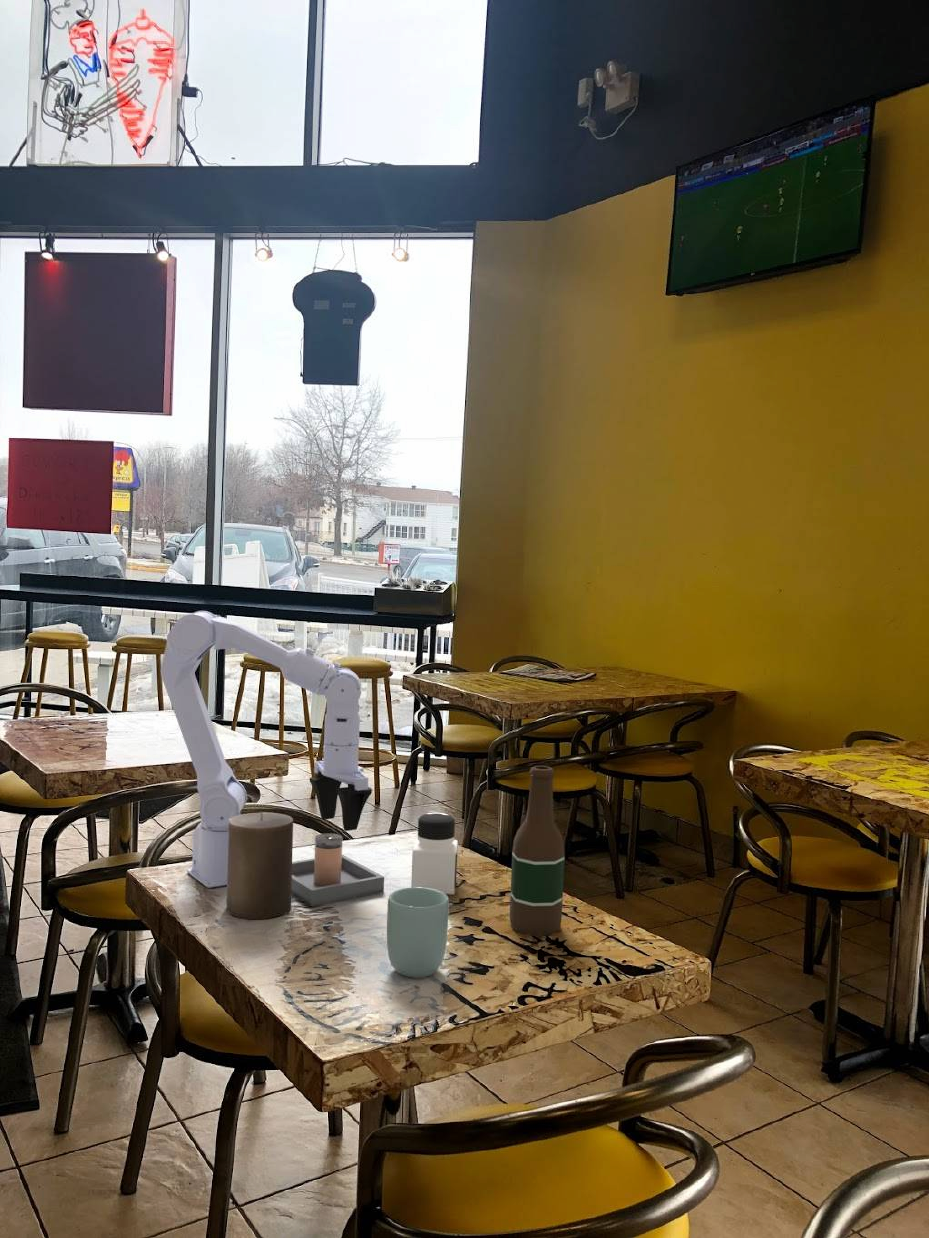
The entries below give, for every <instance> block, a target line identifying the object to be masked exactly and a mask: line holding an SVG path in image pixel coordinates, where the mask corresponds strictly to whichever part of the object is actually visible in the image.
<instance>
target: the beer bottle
mask: <svg viewBox="0 0 929 1238" xmlns="http://www.w3.org/2000/svg"><path fill="white" fill-rule="evenodd" d="M529 775H530V782H529V783H530V784H529V793H528V801H527V802H528V804H527V811H526V815H525V820H524V821H523V823H522V824H521V825H520V826H519V828H517V831H516V834H515V836H514V838H513V844H512V845H513V846H512V853H511V870H510V871H511V872H510V873H511V874H510V875H511V876H510V878H511V879H510V897H509V922H510V925H511V926H512V928H513V929H514V931H515V932H518V933H522V934H525V935H528V936H533V937H534V936H551V935H552V934H554V933H555V932H557V931H559V930H560V929H561V926H562V925H561V924H562V917H563V901H564V900H563V899H564V878H565V874H564V873H565V857H566V856H565V842H564V839H563V835H562V833H561V831H560V830H559V828H558V826H557V824H556V823H555V817H554V816H555V815H554V791H553V788H554V783H553V782H554V781H553V780H554V779H553V778H554V777H555V776H556V775H555V769H553V768H552V767H550V766H547V765H534V766H533V767H530V770H529Z"/></svg>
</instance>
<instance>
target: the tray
mask: <svg viewBox="0 0 929 1238" xmlns="http://www.w3.org/2000/svg"><path fill="white" fill-rule="evenodd" d="M384 892H385V876H383V875H381V874H380V873H378V872H376V871H374V870H372V869H370V868H368V867H366V866H365V865H363V864H361V863H359V862H357V861H356V860H353V859H352V858H350V857H348V856H346V855H345V854H342V865H341V883H339V884H334V885H329V886H323V887H321V886H317V885H315V884H314V858H309V859H303V860H298V861H297V860H296V861H292V892H291V895H293V896H295V897H296V898H297V899H299V900H301V901H302V902H304V903H305V904H307V905H308V906H310V907H316V906H321V905H326V904H331V903H337V902H341V901H346V900H351V899H356V898H360V897H366V896H371V895H375V894H382V893H384Z"/></svg>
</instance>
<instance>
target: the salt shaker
mask: <svg viewBox="0 0 929 1238" xmlns="http://www.w3.org/2000/svg"><path fill="white" fill-rule="evenodd" d="M343 839H344V837H343V835H340V834H338V833H320V834H316V835H315V837H314V858H313V859H314V884H315V885H317V886H321V887H323V886H329V885H334V884H339V883H341V865H342V855H343Z"/></svg>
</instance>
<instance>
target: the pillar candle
mask: <svg viewBox="0 0 929 1238" xmlns="http://www.w3.org/2000/svg"><path fill="white" fill-rule="evenodd" d="M293 838H294V819H293V817H292V816H291V815H287V814H284V813H283V814H282V813H277V812H263V811H260V812H251V813H249V812H248V813H243V814H242V813H241V815H238V816H235V817H233V818H230V819H229V838H228V839H229V840H228V865H227V868H228V871H227V885H226V911H227V913H229V915H232V916H235V917H238V918H239V917H240V918H243V919H246V920H247V919H250V920H264V919H272V918H275V917H281V916H283V915H286V914H287V913H289V912H290V910H291V909H292V893H291V892H292V862H293V846H294V845H293V843H294V842H293V840H294V839H293Z"/></svg>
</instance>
